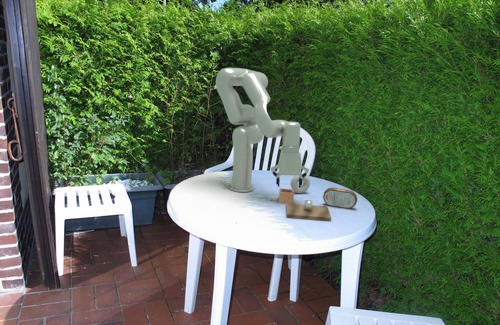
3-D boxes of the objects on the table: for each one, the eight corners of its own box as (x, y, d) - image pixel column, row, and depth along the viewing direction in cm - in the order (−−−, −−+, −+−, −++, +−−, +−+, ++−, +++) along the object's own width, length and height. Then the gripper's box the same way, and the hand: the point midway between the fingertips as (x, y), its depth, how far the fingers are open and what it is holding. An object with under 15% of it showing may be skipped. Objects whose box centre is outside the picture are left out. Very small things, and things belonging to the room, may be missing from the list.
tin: (356, 208, 176) (358, 190, 174) (355, 210, 173) (357, 192, 171) (322, 203, 181) (324, 185, 179) (321, 205, 178) (323, 187, 176)
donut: (307, 191, 196) (309, 172, 194) (310, 194, 193) (312, 174, 191) (288, 192, 194) (290, 172, 192) (291, 194, 191) (292, 174, 188)
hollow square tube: (278, 202, 177) (279, 192, 176) (279, 198, 184) (279, 188, 182) (293, 204, 177) (293, 193, 176) (292, 199, 183) (293, 189, 182)
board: (286, 217, 160) (287, 214, 160) (286, 206, 173) (286, 203, 173) (330, 221, 159) (331, 217, 158) (326, 209, 172) (327, 206, 172)
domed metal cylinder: (304, 211, 164) (305, 202, 163) (303, 208, 167) (304, 199, 167) (311, 211, 164) (312, 202, 163) (311, 209, 167) (312, 200, 166)
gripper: (271, 150, 171) (269, 187, 175) (310, 151, 170) (308, 189, 174) (271, 147, 179) (270, 183, 182) (309, 148, 178) (307, 185, 181)
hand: (289, 186), depth 178 cm, fingers open, 9 cm apart
